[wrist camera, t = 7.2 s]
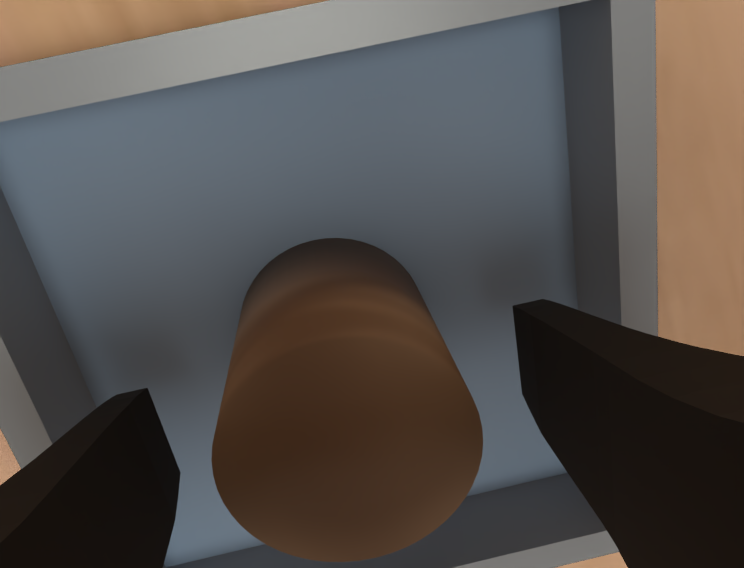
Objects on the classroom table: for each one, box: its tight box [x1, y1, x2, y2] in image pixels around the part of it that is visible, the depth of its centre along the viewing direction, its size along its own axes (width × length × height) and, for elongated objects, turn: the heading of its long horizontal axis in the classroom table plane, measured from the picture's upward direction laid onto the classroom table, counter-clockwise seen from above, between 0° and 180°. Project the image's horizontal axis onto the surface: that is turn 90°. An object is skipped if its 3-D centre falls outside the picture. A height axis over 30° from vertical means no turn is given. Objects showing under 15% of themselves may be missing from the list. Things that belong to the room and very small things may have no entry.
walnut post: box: [211, 238, 483, 562], centre depth 12 cm, size 4×4×5 cm
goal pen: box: [0, 0, 658, 568], centre depth 13 cm, size 14×14×2 cm
